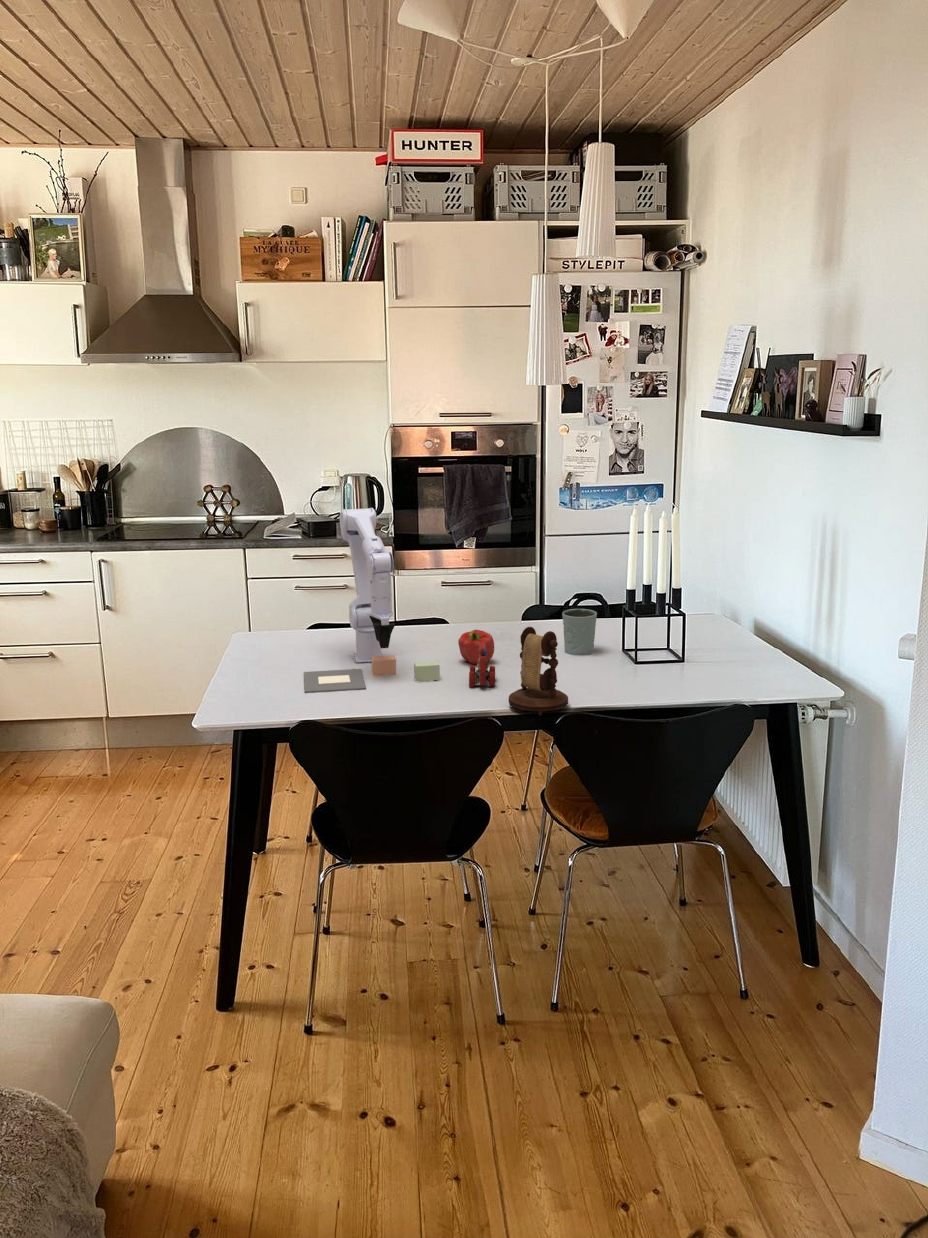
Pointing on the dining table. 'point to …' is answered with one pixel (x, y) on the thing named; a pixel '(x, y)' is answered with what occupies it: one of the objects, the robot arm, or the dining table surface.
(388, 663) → the terracotta brick
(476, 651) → the vegetable
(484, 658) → the toy fire truck
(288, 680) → the dining table surface
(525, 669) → the scroll
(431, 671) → the sage brick
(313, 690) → the mat
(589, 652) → the grey green cup
